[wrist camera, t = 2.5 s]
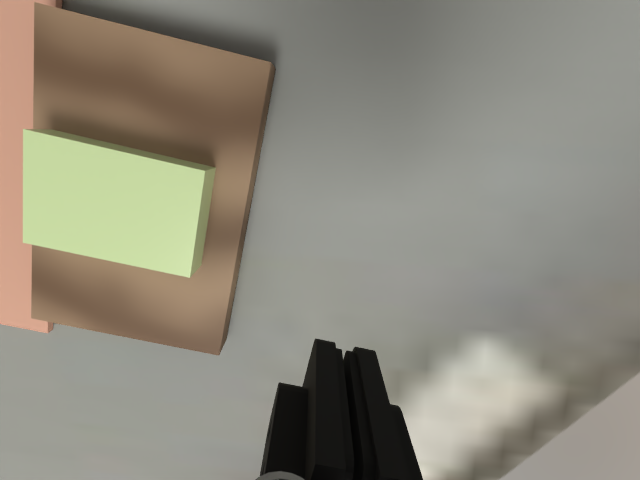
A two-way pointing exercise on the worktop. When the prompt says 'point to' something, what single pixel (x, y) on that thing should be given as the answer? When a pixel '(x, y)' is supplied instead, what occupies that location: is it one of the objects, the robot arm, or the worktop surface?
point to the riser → (160, 138)
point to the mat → (16, 159)
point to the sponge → (114, 202)
